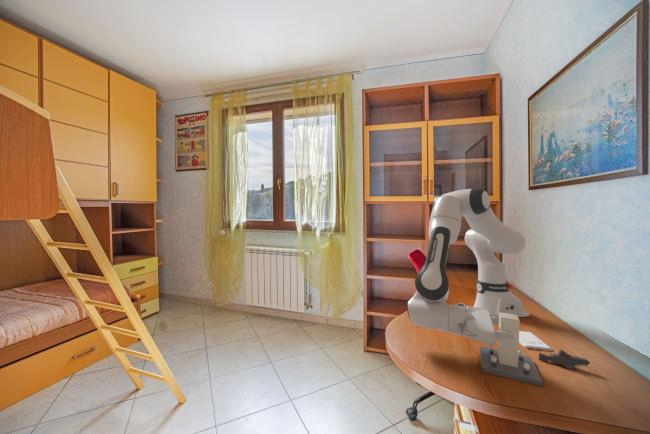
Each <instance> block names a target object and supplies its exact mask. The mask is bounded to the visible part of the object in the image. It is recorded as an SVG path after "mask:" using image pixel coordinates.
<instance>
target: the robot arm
mask: <svg viewBox="0 0 650 434" xmlns="http://www.w3.org/2000/svg"><path fill="white" fill-rule="evenodd" d="M431 205H432V207H431V208H432V209H431V212H430V217H429V221H428V222H429V223H428V240H429V242H428V247H427V252H426V255H425V256H426V257H425V261H424V263H423V265H422V267H421V269H419V271H418V273H417V274H416V276H415V279H414V286H415V290H416V291H415V292H414V294H413V296H412V297H411V298H410V299H409V300H408V301H407V304H406V309H407V315H408V319H409V321H410V322H411V323H412V325H416V326H417V327H421V328H425V329H428V330H429V329H430V330H434V331H435V330H440V331H443V332H446V333H448V334H452V335H453V334H454V335H459V336H463V337H464V336H465V337H466V339H469V340H471V341H474V342H477V343H483V344H486V345H489V344H490V345H496V342H497V341H496V340H498V339H510V340H513V333H512V332H510V331H499V329H495V327H494V325H497V326H499V312H501V313H507V314H514V315H517V317H518V318H524V317H525V318H526V317H530V313H529V312H528V311H527V310H526V309H524V305H523V302H522V300H521V298H519V297H518V296H516V295H515V294H514V293H512V292H511V291H510V289H511V290H514V289H515V285H514V284H512V283H508V282H506V281H507V279H506V277H507V275H506V274H507V268H506V265H505V264H504V262H502V261H500V260H499V259H498V258H497V256H496V255H495V253H497V254H502V255H504V254H505V255H512V254H513V255H514V254H515V255H516V254H517V255H518V254H520V253H521V252H523V250H524V249H525V247H526V245H527V244H526V238H525V236H524V235H523V234H522V233H521V232H519V231H517V230H515V229H513V228H511V227H509V226H507V225H506V224H505V223H504V222H502V221H501V220H500V219H499V218H498V217H497V215H496V214H495V213H494V211H493V209H492V207H491V197H490V195H489V192H488V191H487V190H486V189H484V188H482V187H473V188H465V189H458V190H455V191H450V192H447V193H441V194H439V195H436V196H435V197H434V199H433V201H432V203H431ZM463 217H464V219H465V221H466V222H467V224H468V226H469V227H470V228H469V229H468V230H467V231H466V232H465V235H464V242H465V245H466V246H467V247H468V248H469V250H471V251H472V253H473V255H474V257H475V258H476V262H477V273H478V274H477V275H478V277H477V279H476V297H475V302H474V305H473V306H470V305H466V304H465V303H457V304H449V303H447V299H448V297H449V294H450V290H449V289H450V288H449V286H450V282H449V281H450V280H449V279H448V275H447V272H446V266H447V265H446V264H447V259H448V252H449V248H450V246H451V245H452V244H454V243H456V242H457V240H458V237H459V234H460V231H461V228H462V227H461V225H462V218H463Z"/></svg>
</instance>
